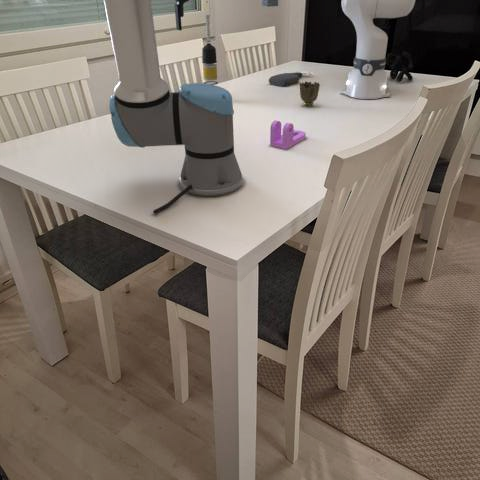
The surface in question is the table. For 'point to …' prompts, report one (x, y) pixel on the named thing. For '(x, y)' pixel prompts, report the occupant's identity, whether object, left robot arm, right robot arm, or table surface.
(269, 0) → the block
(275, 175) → the table surface
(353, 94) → the right robot arm
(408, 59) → the squiggle
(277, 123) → the bracket
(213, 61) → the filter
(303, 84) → the cup
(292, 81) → the spray bottle
